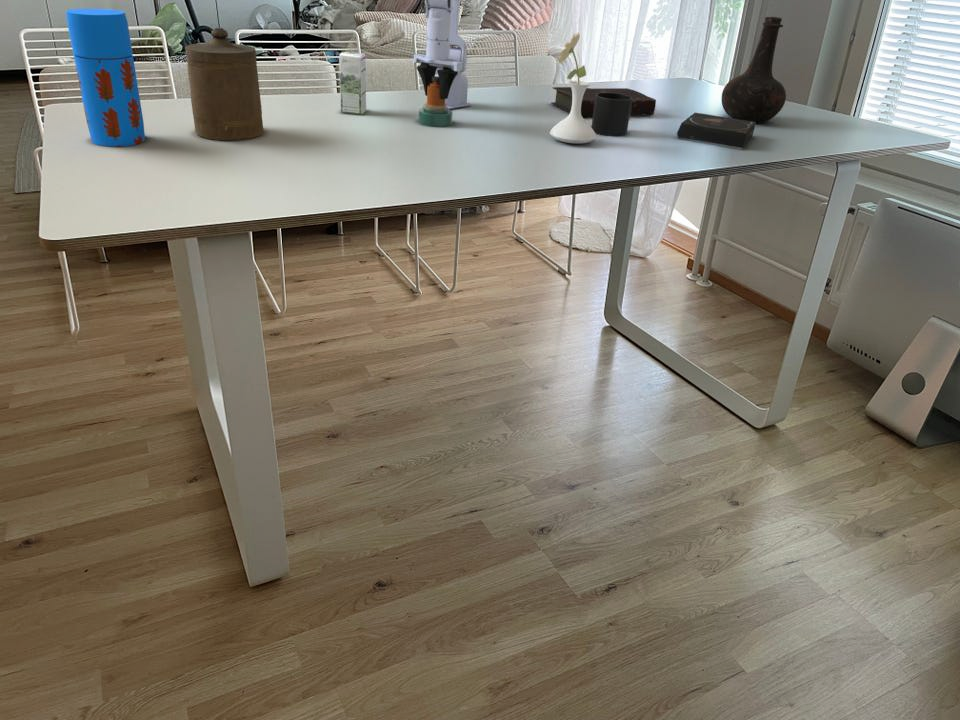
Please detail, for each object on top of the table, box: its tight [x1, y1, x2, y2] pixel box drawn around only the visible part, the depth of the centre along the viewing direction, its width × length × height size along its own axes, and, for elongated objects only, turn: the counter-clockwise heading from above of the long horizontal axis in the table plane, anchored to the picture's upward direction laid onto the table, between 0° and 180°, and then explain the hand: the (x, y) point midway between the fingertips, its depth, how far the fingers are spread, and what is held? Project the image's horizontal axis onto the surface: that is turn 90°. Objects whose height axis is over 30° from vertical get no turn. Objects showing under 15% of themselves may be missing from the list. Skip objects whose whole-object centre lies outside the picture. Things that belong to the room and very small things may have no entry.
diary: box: [550, 86, 657, 117], centre depth 217 cm, size 19×25×5 cm
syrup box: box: [338, 51, 367, 115], centre depth 192 cm, size 6×6×14 cm
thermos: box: [65, 8, 146, 148], centre depth 152 cm, size 11×11×25 cm
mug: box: [590, 93, 632, 137], centre depth 193 cm, size 9×12×9 cm
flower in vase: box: [549, 32, 597, 144], centre depth 177 cm, size 13×11×25 cm
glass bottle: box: [721, 16, 787, 124], centre depth 213 cm, size 18×18×28 cm
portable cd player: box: [676, 112, 757, 151], centre depth 196 cm, size 16×17×4 cm
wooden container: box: [185, 27, 264, 141], centre depth 164 cm, size 15×15×22 cm
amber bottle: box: [426, 76, 445, 106], centre depth 187 cm, size 5×5×6 cm
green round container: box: [418, 101, 454, 128], centre depth 190 cm, size 9×9×5 cm
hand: (436, 97), depth 188 cm, fingers closed on amber bottle, 4 cm apart
